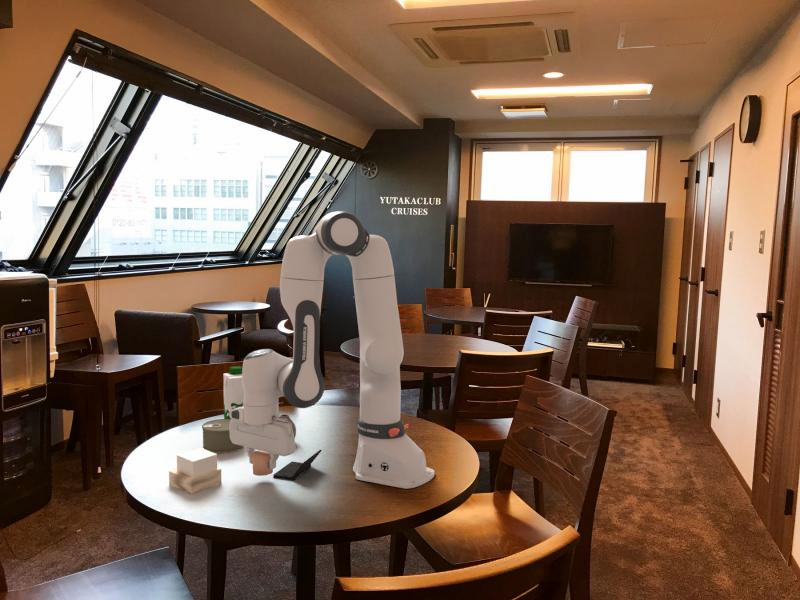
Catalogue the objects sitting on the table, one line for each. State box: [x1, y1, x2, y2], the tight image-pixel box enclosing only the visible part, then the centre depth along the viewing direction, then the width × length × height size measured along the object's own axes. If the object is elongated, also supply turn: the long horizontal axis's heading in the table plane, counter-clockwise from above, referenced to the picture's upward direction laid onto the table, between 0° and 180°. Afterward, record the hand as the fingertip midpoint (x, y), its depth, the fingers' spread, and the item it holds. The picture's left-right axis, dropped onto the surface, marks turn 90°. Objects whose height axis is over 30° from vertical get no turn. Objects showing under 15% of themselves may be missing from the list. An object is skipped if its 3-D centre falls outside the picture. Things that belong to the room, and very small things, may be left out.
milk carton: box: [223, 365, 244, 419], centre depth 205 cm, size 9×9×20 cm
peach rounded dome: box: [252, 450, 274, 477], centre depth 162 cm, size 5×5×5 cm
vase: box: [279, 413, 297, 439], centre depth 192 cm, size 7×7×9 cm
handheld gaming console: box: [272, 449, 322, 481], centre depth 169 cm, size 12×7×10 cm
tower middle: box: [176, 447, 218, 477], centre depth 160 cm, size 7×7×4 cm
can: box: [201, 418, 244, 454], centre depth 188 cm, size 12×12×7 cm
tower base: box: [168, 467, 222, 495], centre depth 160 cm, size 9×9×4 cm
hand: (262, 465), depth 162 cm, fingers closed on peach rounded dome, 5 cm apart
